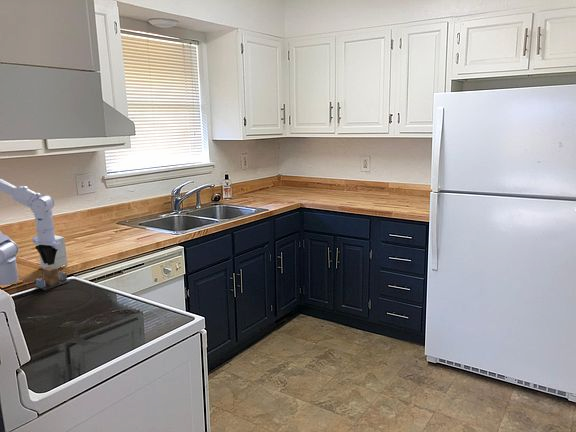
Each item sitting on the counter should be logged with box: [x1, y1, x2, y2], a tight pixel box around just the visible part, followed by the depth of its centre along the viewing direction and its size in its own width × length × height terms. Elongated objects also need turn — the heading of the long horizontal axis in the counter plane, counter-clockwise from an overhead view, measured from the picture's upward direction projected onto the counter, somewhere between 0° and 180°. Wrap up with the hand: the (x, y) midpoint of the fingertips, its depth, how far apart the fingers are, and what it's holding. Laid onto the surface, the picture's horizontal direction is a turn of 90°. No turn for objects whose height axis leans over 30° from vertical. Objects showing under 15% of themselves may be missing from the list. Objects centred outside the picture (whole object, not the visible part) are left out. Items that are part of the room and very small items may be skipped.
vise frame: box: [34, 270, 71, 291], centre depth 174 cm, size 6×10×3 cm, turn 149°
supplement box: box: [38, 234, 68, 268], centre depth 190 cm, size 7×7×13 cm
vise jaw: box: [35, 278, 45, 289], centre depth 170 cm, size 4×2×3 cm, turn 59°
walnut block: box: [41, 266, 59, 286], centre depth 173 cm, size 3×4×6 cm
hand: (49, 263), depth 172 cm, fingers closed
